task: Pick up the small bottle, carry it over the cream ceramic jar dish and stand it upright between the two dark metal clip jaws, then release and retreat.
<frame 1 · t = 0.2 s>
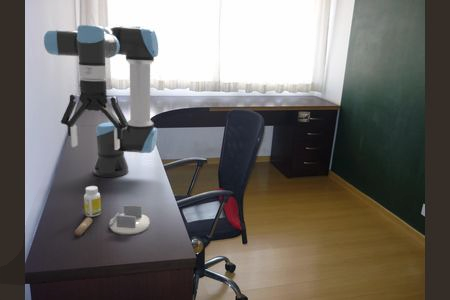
hand: (96, 147, 117), 27 cm above the table, fingers open, 13 cm apart
supplement bottle: (93, 214, 131), on the table
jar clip: (129, 224, 125), on the table
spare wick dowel: (82, 229, 120), on the table, tilted 21°
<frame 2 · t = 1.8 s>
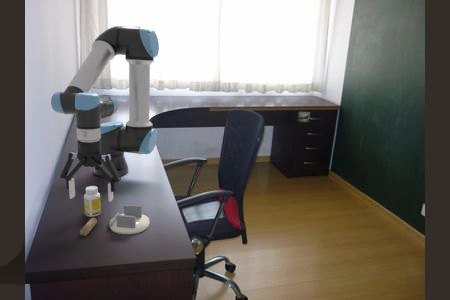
hand: (91, 198, 129), 6 cm above the table, fingers open, 13 cm apart
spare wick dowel: (85, 225, 120), point 1 cm above the table, tilted 106°
everything else where it was.
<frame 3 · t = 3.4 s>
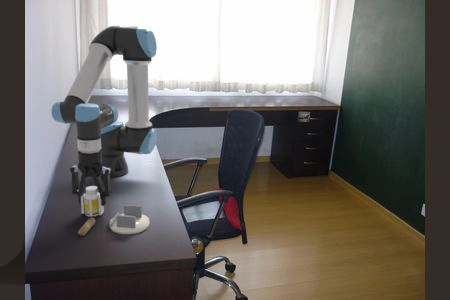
hand: (92, 212, 131), 0 cm above the table, fingers closed on supplement bottle, 5 cm apart
supplement bottle: (93, 214, 131), on the table, touching gripper
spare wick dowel: (83, 227, 120), point 1 cm above the table, tilted 77°
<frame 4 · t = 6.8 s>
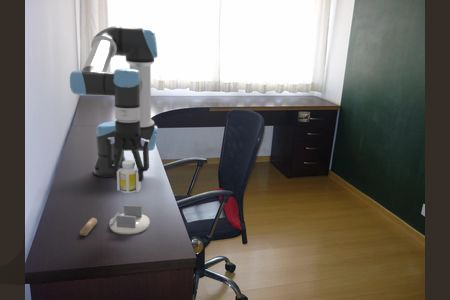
hand: (129, 189, 121), 13 cm above the table, fingers closed on supplement bottle, 5 cm apart
supplement bottle: (129, 191, 121), point 12 cm above the table, touching gripper
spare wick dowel: (85, 225, 120), point 1 cm above the table, tilted 109°
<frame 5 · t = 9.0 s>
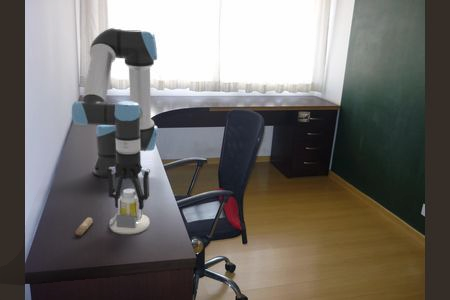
hand: (129, 216, 124), 3 cm above the table, fingers closed on supplement bottle, 5 cm apart
supplement bottle: (129, 218, 124), point 2 cm above the table, touching gripper
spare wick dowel: (82, 228, 120), on the table, tilted 34°
when the fingers open (3 cm above the table, at t = 9.1 s): supplement bottle drops 1 cm, resting on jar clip.
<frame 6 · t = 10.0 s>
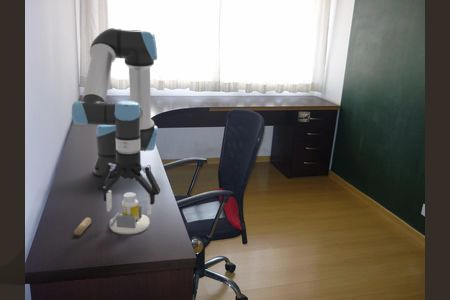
hand: (129, 211, 123), 5 cm above the table, fingers open, 13 cm apart
supplement bottle: (130, 222, 124), point 1 cm above the table, touching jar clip
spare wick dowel: (82, 229, 120), on the table, tilted 8°
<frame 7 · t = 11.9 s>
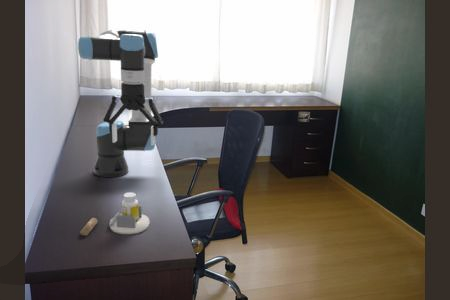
hand: (133, 143, 130), 25 cm above the table, fingers open, 13 cm apart
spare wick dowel: (85, 225, 120), point 1 cm above the table, tilted 116°
everything else where it was.
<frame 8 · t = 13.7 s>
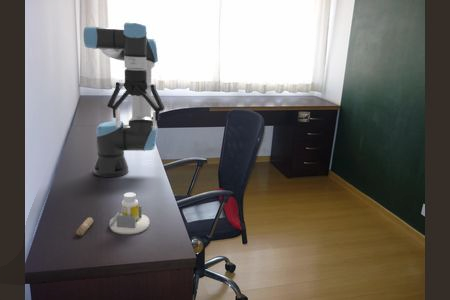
hand: (136, 128, 136), 29 cm above the table, fingers open, 13 cm apart
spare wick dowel: (82, 228, 120), on the table, tilted 44°
everything else where it was.
at the end: supplement bottle 0.2 cm off-centre on the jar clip, point 1.0 cm above the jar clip's base; supplement bottle tilted 0°; the gripper is holding nothing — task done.
